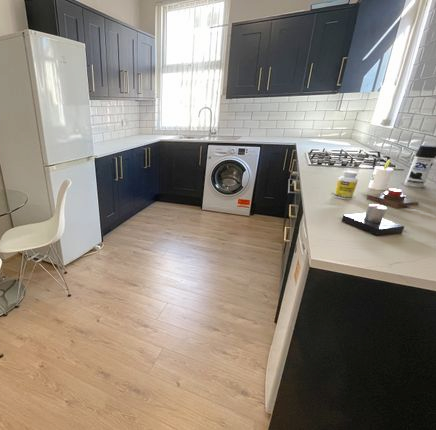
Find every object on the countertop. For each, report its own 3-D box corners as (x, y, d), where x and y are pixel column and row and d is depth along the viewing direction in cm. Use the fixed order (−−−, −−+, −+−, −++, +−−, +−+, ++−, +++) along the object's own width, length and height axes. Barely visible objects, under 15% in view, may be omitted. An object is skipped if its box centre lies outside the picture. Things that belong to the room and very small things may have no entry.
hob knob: (372, 217, 96) (378, 203, 94) (385, 222, 92) (391, 207, 90) (360, 217, 96) (365, 203, 94) (372, 223, 92) (378, 208, 89)
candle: (364, 187, 137) (375, 157, 132) (381, 188, 135) (392, 157, 130) (370, 191, 132) (382, 159, 126) (388, 192, 130) (400, 160, 124)
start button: (403, 195, 114) (405, 191, 113) (395, 196, 113) (397, 191, 112) (392, 193, 118) (394, 188, 117) (384, 193, 117) (386, 188, 116)
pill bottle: (331, 197, 124) (339, 171, 120) (335, 194, 128) (343, 169, 123) (349, 200, 119) (358, 174, 115) (353, 197, 123) (362, 171, 119)
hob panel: (401, 233, 90) (404, 226, 89) (376, 236, 88) (379, 228, 87) (364, 219, 101) (366, 212, 100) (341, 221, 99) (343, 214, 98)
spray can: (402, 187, 138) (418, 146, 130) (403, 184, 142) (419, 144, 134) (421, 190, 133) (439, 147, 125) (422, 187, 137) (440, 146, 130)
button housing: (416, 207, 112) (420, 197, 111) (396, 208, 110) (400, 199, 109) (384, 197, 123) (388, 189, 122) (366, 199, 121) (369, 190, 120)
